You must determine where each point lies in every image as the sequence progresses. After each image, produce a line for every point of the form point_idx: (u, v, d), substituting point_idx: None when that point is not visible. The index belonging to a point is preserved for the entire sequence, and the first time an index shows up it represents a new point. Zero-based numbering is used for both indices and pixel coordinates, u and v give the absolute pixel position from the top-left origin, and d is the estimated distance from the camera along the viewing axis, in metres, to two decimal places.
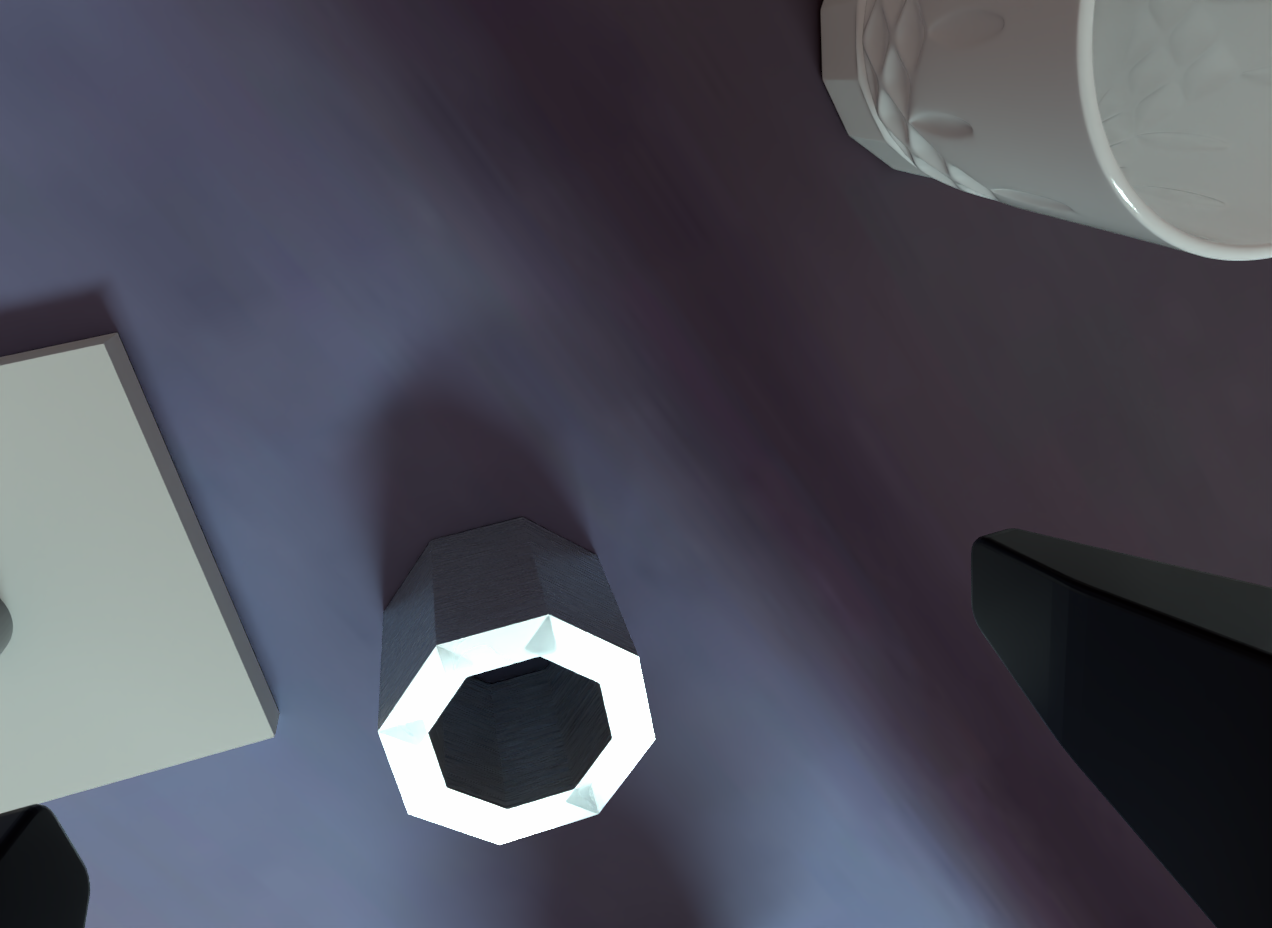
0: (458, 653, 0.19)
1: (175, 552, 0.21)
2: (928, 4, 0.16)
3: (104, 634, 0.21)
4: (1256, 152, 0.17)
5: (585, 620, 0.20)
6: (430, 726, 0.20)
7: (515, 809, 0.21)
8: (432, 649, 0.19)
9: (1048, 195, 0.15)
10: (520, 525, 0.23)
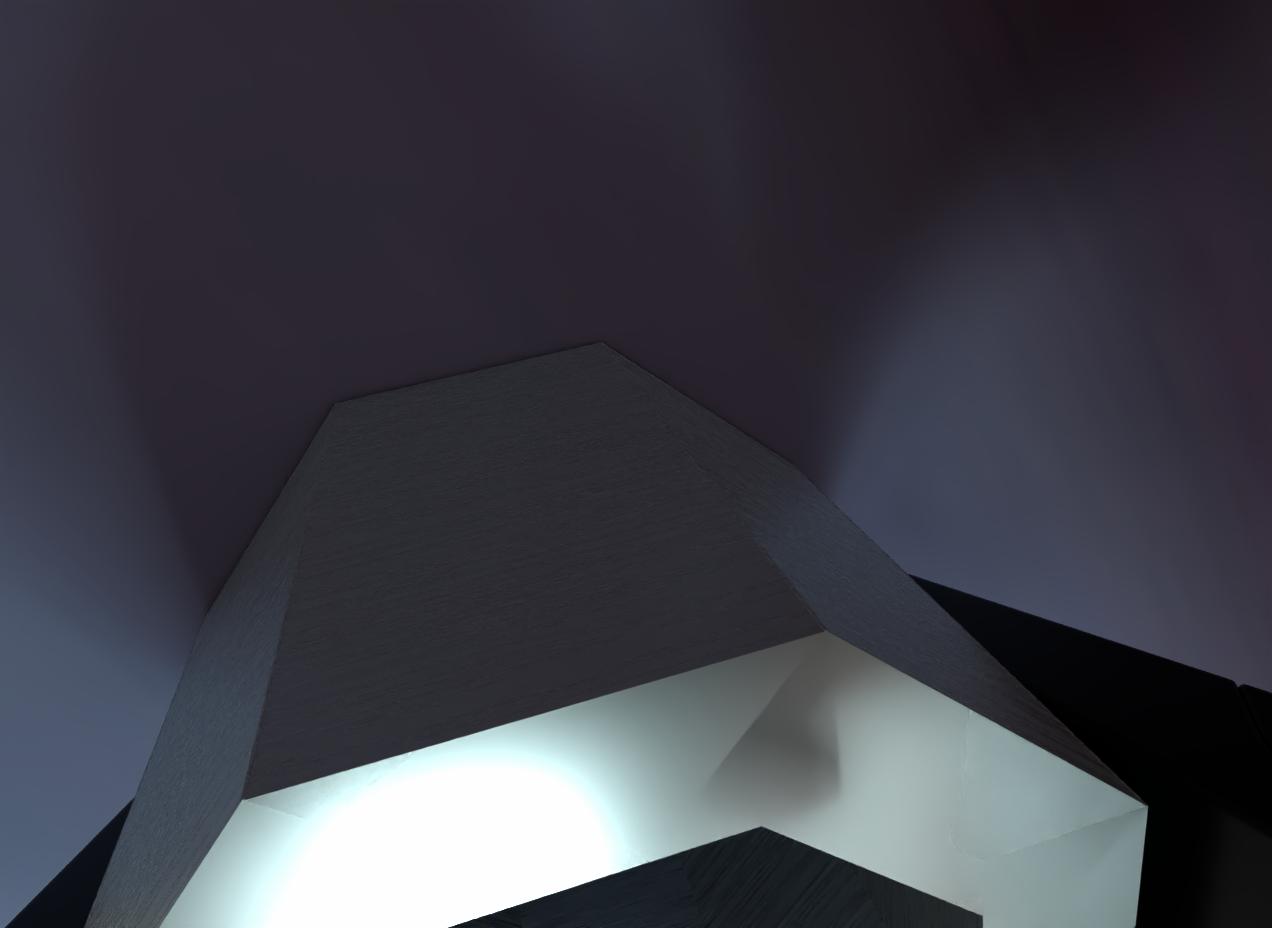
0: (368, 834, 0.04)
1: None
2: None
3: None
4: None
5: (926, 652, 0.05)
6: None
7: None
8: (222, 824, 0.04)
9: None
10: (599, 358, 0.08)
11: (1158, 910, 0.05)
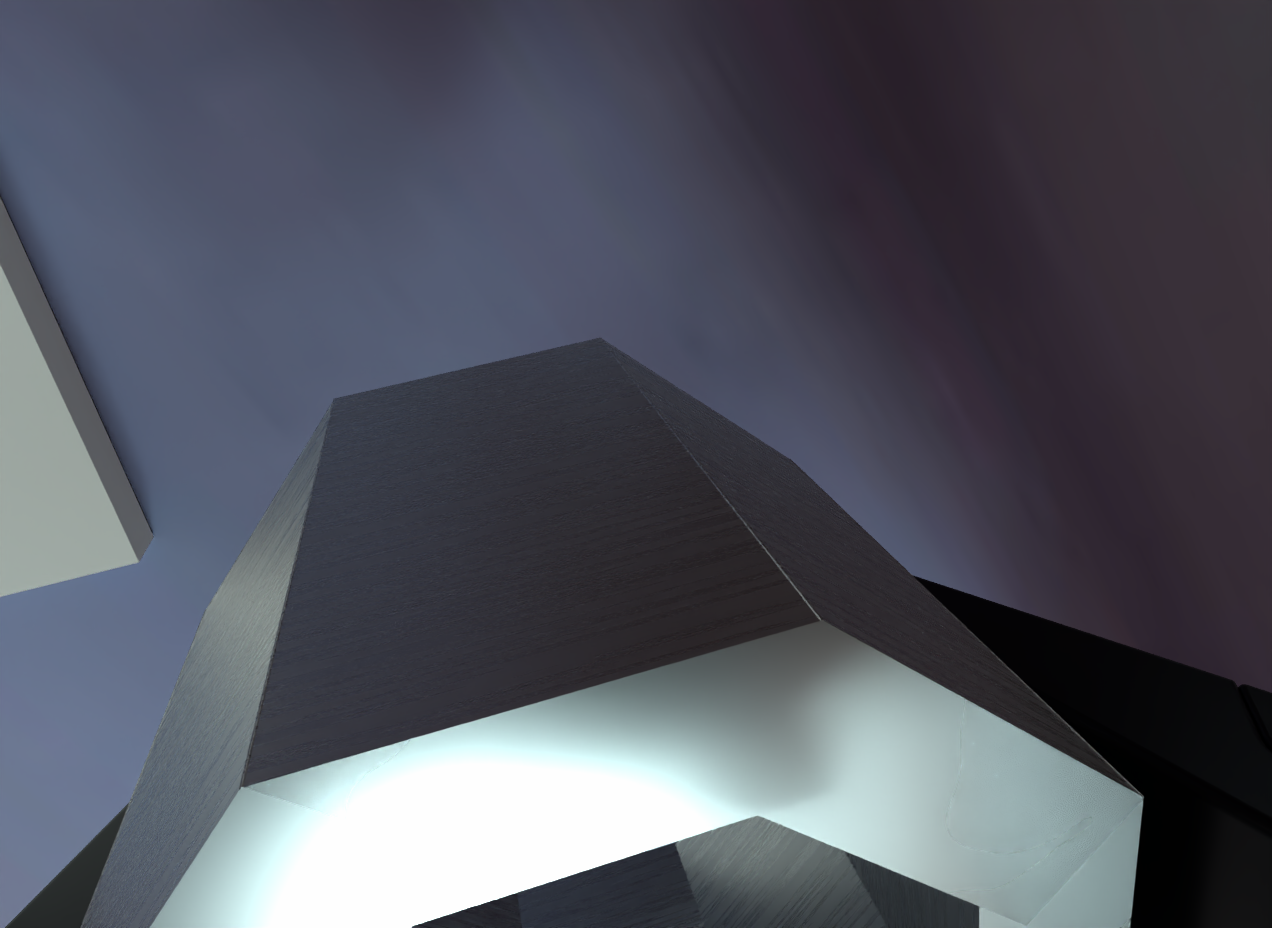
0: (366, 822, 0.04)
1: None
2: None
3: None
4: None
5: (922, 644, 0.05)
6: None
7: None
8: (222, 812, 0.04)
9: None
10: (598, 354, 0.08)
11: (1158, 910, 0.05)
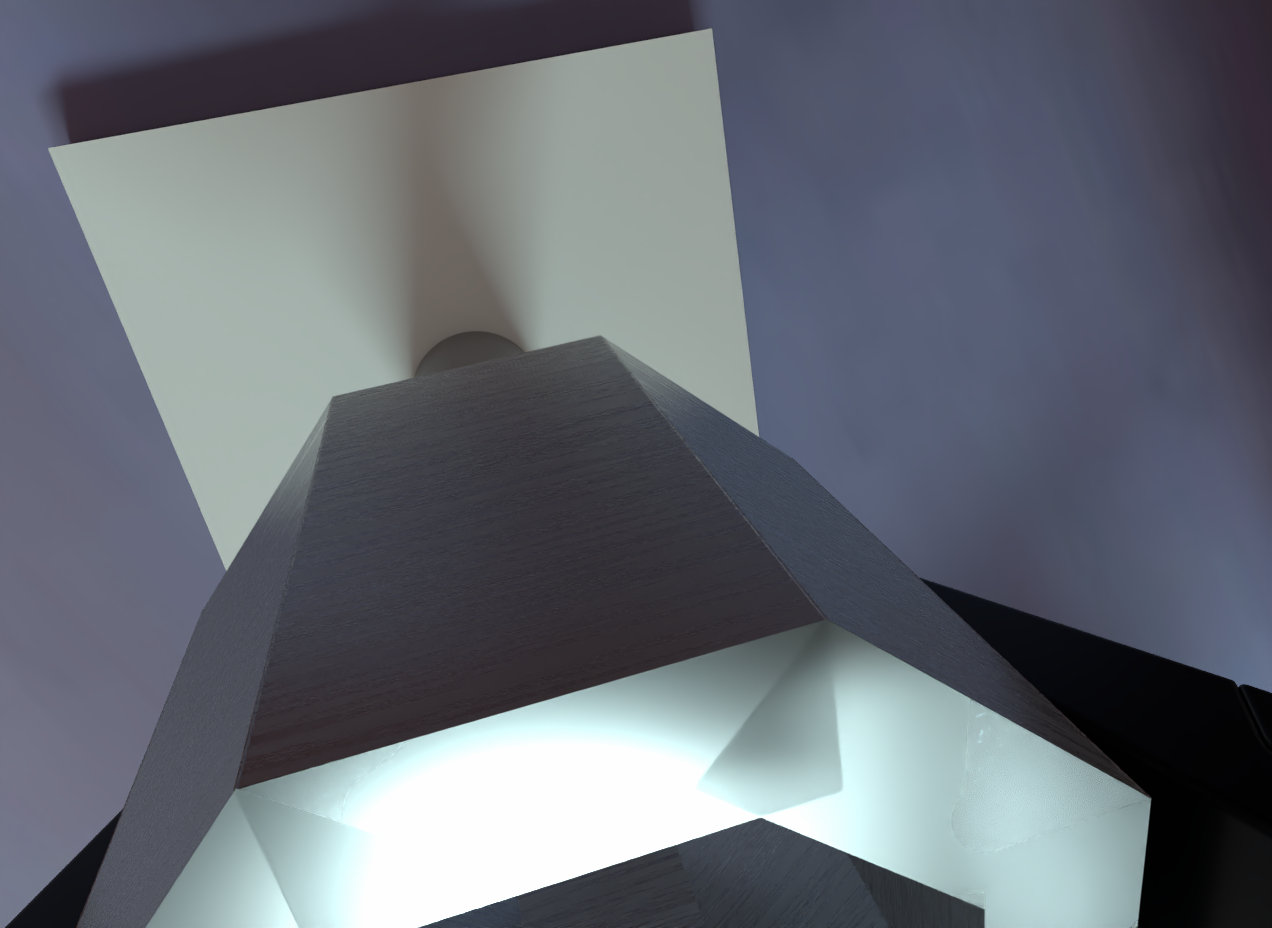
0: (363, 824, 0.04)
1: (725, 315, 0.18)
2: None
3: None
4: None
5: (927, 643, 0.05)
6: None
7: None
8: (218, 815, 0.04)
9: None
10: (598, 351, 0.08)
11: (1159, 910, 0.05)
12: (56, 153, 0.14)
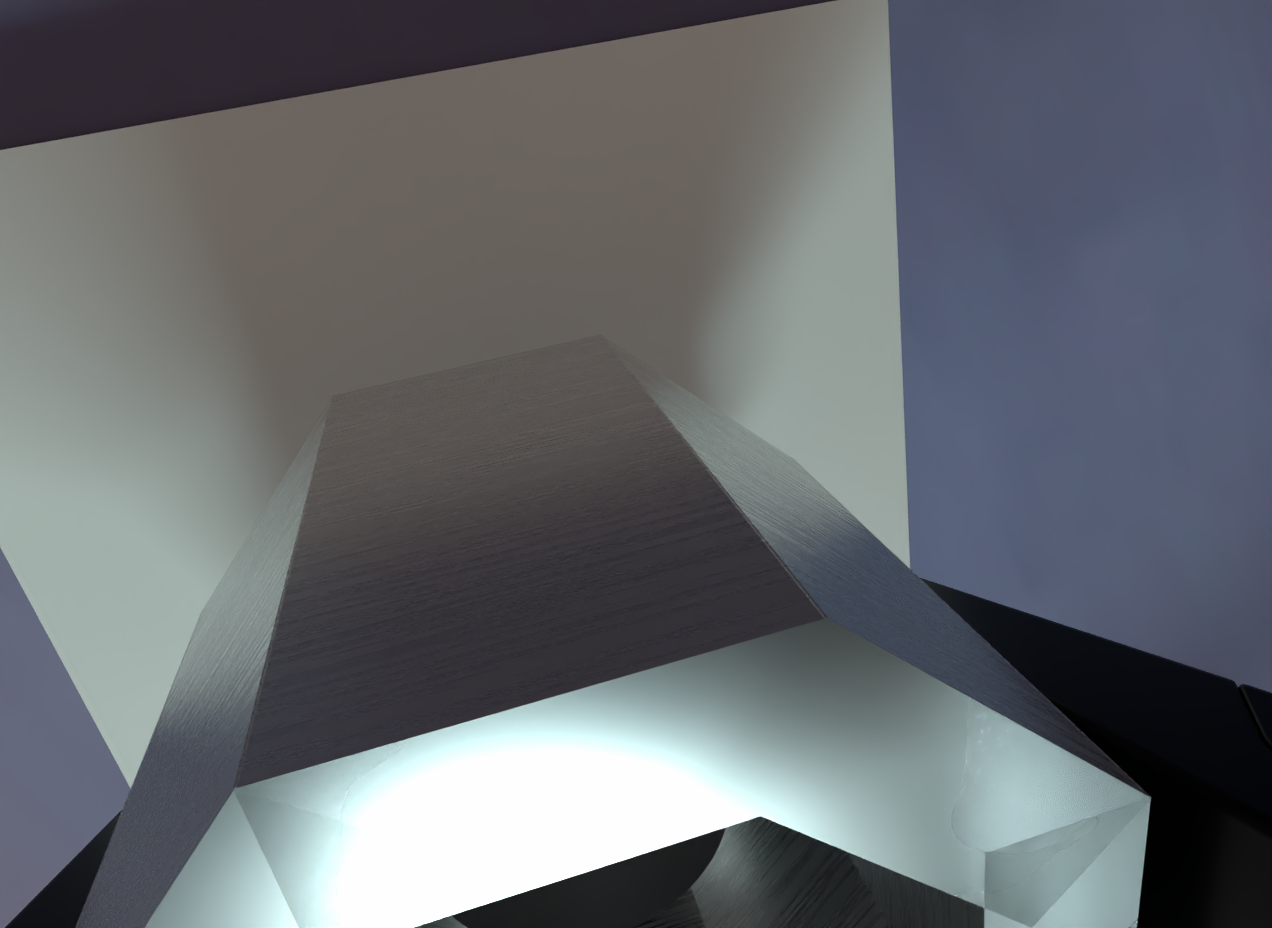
0: (363, 822, 0.04)
1: (876, 420, 0.12)
2: None
3: None
4: None
5: (927, 642, 0.05)
6: None
7: None
8: (218, 812, 0.04)
9: None
10: (598, 351, 0.08)
11: (1158, 910, 0.05)
12: None
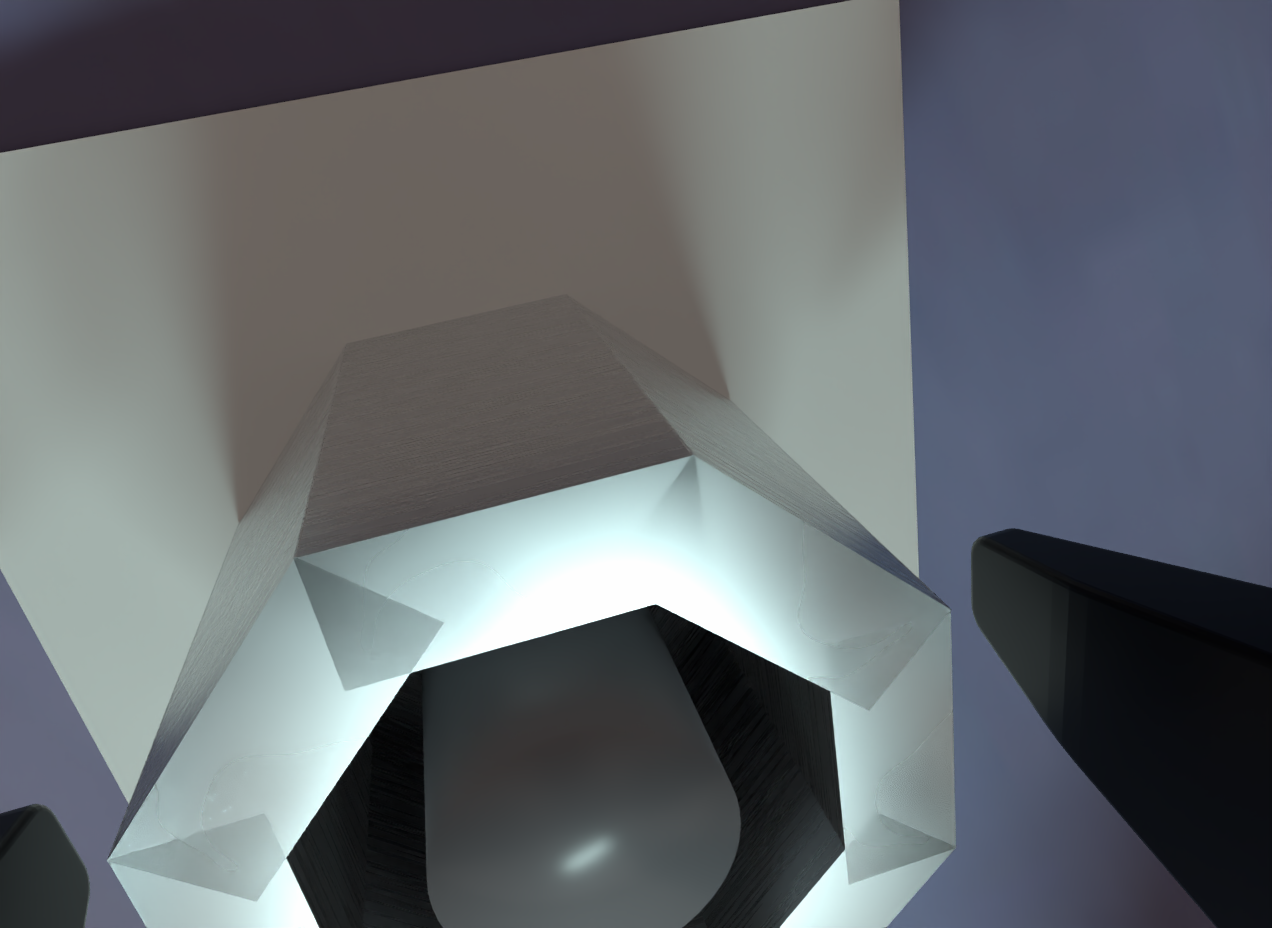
0: (378, 590, 0.05)
1: (886, 427, 0.12)
2: None
3: None
4: None
5: (786, 496, 0.07)
6: (293, 837, 0.06)
7: None
8: (281, 576, 0.05)
9: None
10: (562, 306, 0.10)
11: None
12: None
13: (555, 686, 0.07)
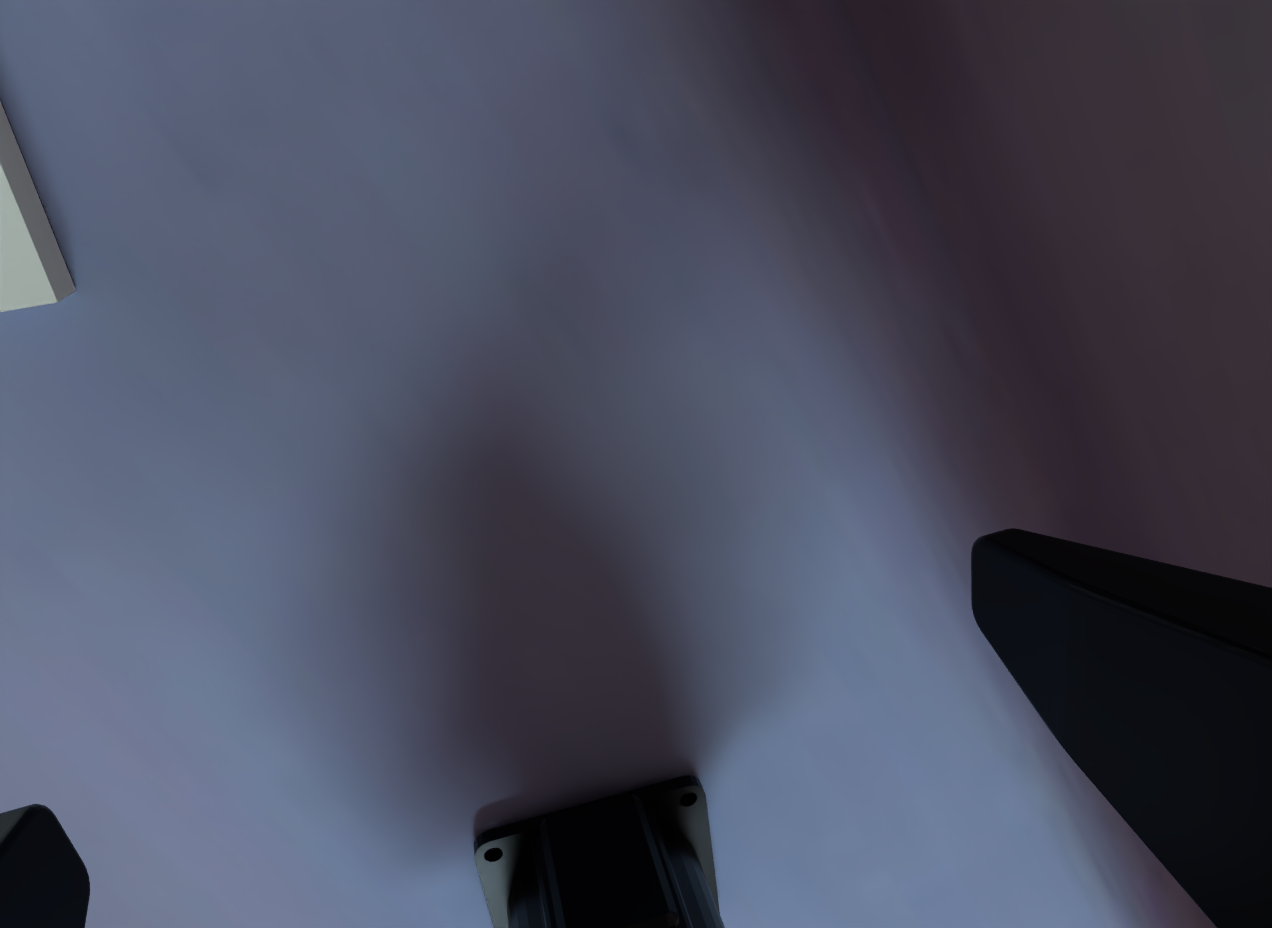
0: None
1: None
2: None
3: None
4: None
5: None
6: None
7: None
8: None
9: None
10: None
11: None
12: None
13: None
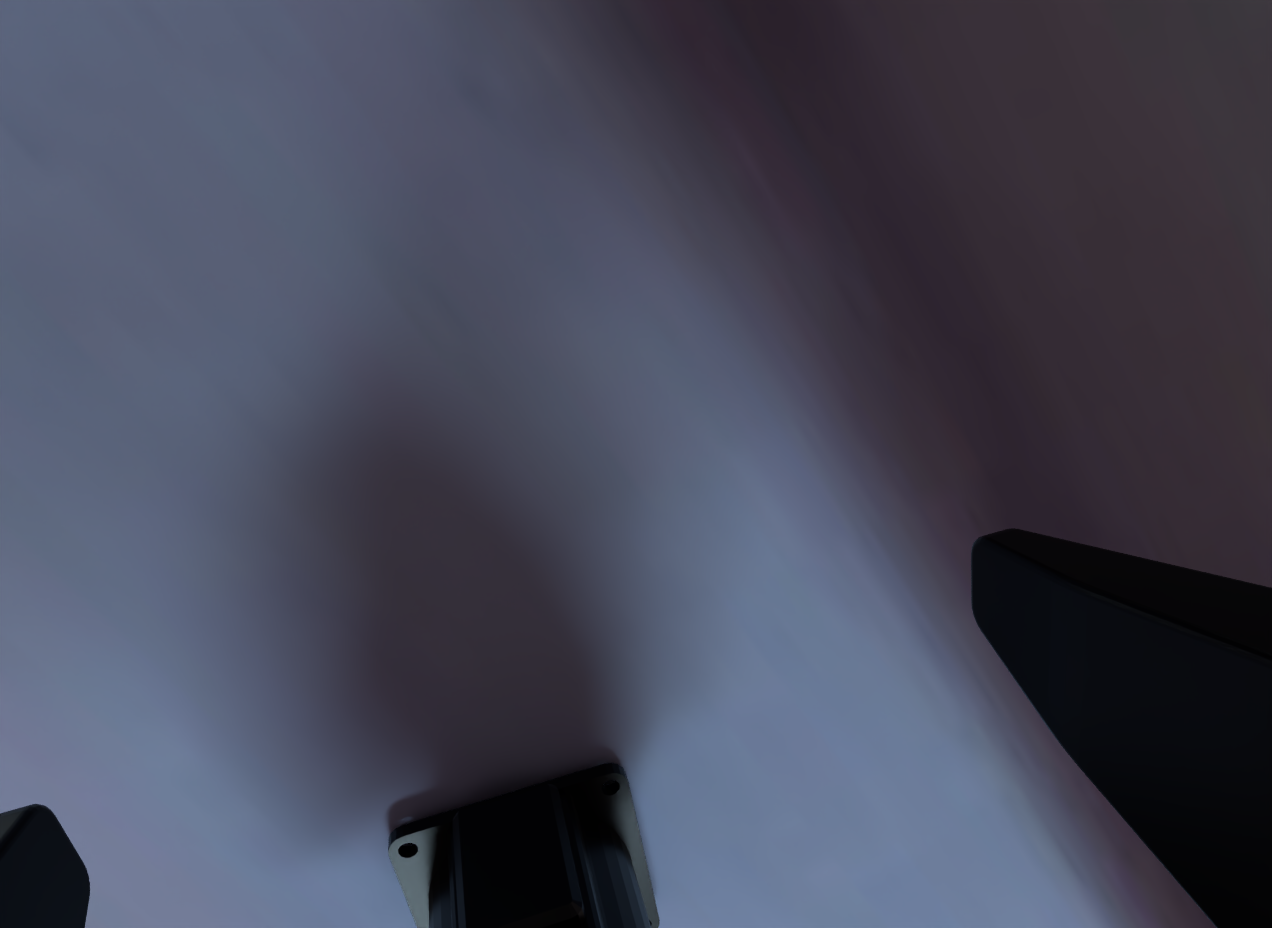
0: None
1: None
2: None
3: None
4: None
5: None
6: None
7: None
8: None
9: None
10: None
11: None
12: None
13: None
